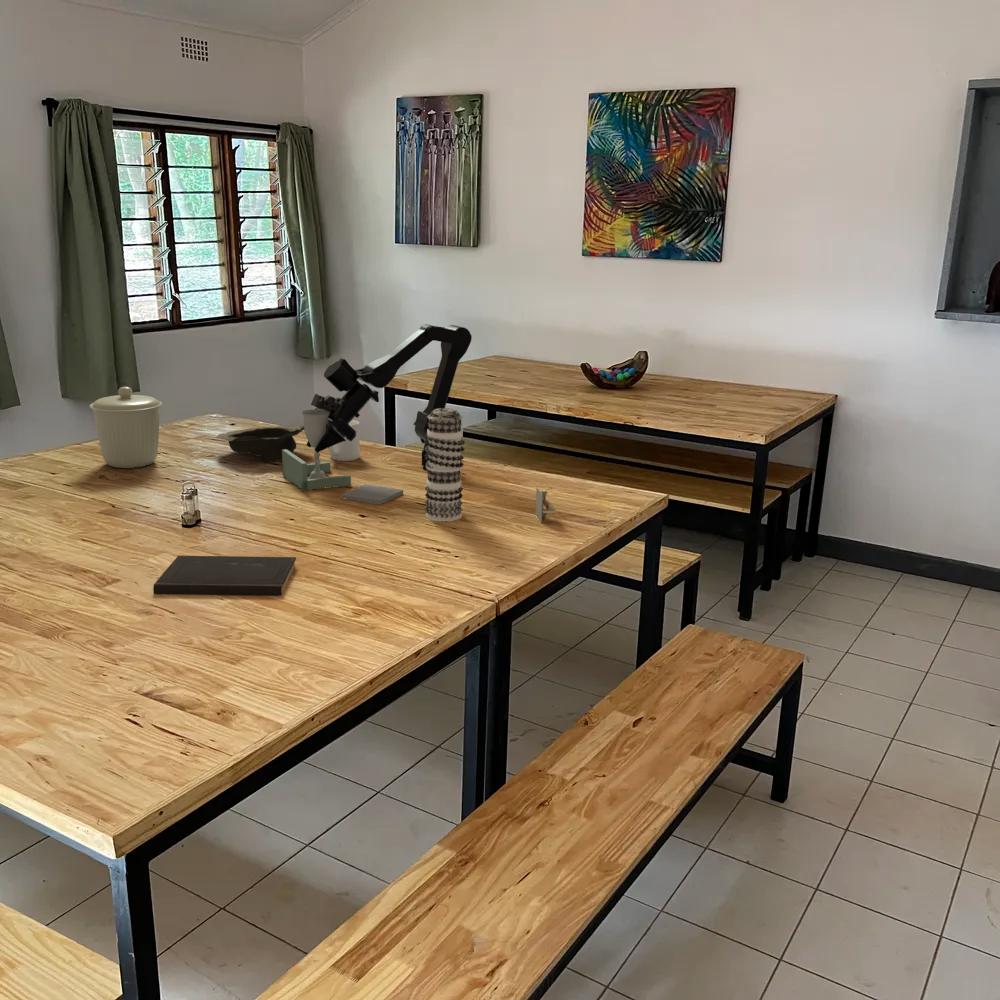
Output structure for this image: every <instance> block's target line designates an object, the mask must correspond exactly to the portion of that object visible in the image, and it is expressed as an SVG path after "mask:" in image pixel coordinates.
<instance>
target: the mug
mask: <svg viewBox="0 0 1000 1000" xmlns="http://www.w3.org/2000/svg"><path fill="white" fill-rule="evenodd" d="M349 425H350V426H351V427H352V428H353V429H354V430H355V431H356V437H355V438H354V439H353V440H352V441H349V440H347V439H346V437H345V438H344V439H345V440H346V441H345V442H344V441H343V442H340V443H338V444H335V445H333V446H331V447H329V448H328V451H329V454H330V458H331V460H334V461H336V460H337V462H352V461H356V459H357V460H358V459H359V458H360V455H361V454H360V453H361V450H360V448H361V447H360V446H361V445H360V442H361V441H360V440H361V439H360V421H358V420H354V419H352V420H351V422H350V423H349Z"/></svg>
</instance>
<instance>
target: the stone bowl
mask: <svg viewBox="0 0 1000 1000" xmlns="http://www.w3.org/2000/svg"><path fill="white" fill-rule="evenodd" d="M302 431H304V425H301V426H299V427H298V426H296V425H295V426H288V425H287V426H286V425H285V426H284V425H279V426H260V427H251V428H243V429H237V430H231V431H228V432H226V433H225V432H224V433H220V434H218V435H217V436H216V437H215V438H217V439H220V440H224V441H227V442H228V445H229V447H230V450H231V451H233V452H235V453H242V454H251V455H252V456H259V457H260V461H261V462H262V463H264V462H265V464H268V463H269V462H270V463H275V462H277V461H282V450H285V449H287V450H288V451H290V452H291V453H293V454H294V451H295V450H296V449H297V443H296V440H295V438H294V437H293V436H297V435H299V434H300V433H301V432H302Z"/></svg>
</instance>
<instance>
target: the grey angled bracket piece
mask: <svg viewBox="0 0 1000 1000" xmlns="http://www.w3.org/2000/svg"><path fill="white" fill-rule="evenodd" d="M535 489H536V490H535V491H536V493H535V515H536V516H537V518H538V519H539V520H538V519H537V518H536V519H537V520H538V521H540V522H542V523H543V521H542V520H543V518H542V517H545V518H546V516H547V514H553V513H555V514H556V513H558V510H557V509H556V508H555V506H553V504H552V503H551V502H549V501H548V500H547V499H546V497H547V494H548V490H546V491H545V490H543V491H542V490H540V489H539V488H538V487H536V488H535ZM544 508H545V509H544ZM536 516H535V517H536ZM540 522H539V523H540Z"/></svg>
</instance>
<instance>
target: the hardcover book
mask: <svg viewBox="0 0 1000 1000" xmlns="http://www.w3.org/2000/svg"><path fill="white" fill-rule="evenodd" d="M296 559H297V557H296V556H242V555H241V556H239V555H237V556H236V555H235V556H234V555H231V556H230V555H229V556H228V555H177V557H176V558H175V559H174V560H173V561H172V562H171V563H170V564H169V566H168V567H167V568H166V569H165V571H164V572H163V573H162V574H161V575H160V576H159V577H158V579H157V580H156V581H155V583H154V584H153V586H152V587H153V588H152V590H153V594H154V595H185V596H186V595H187V596H189V595H191V596H193V595H195V596H196V595H197V596H200V595H201V596H254V597H256V596H257V597H258V596H261V597H263V596H264V597H271V596H272V597H282V596H283V591H284V589H285V587H286V585H287V583H288V581H289V579H290V577H291V575H292V573H293V571H294V569H295V566H296V565H295V563H296Z"/></svg>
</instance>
